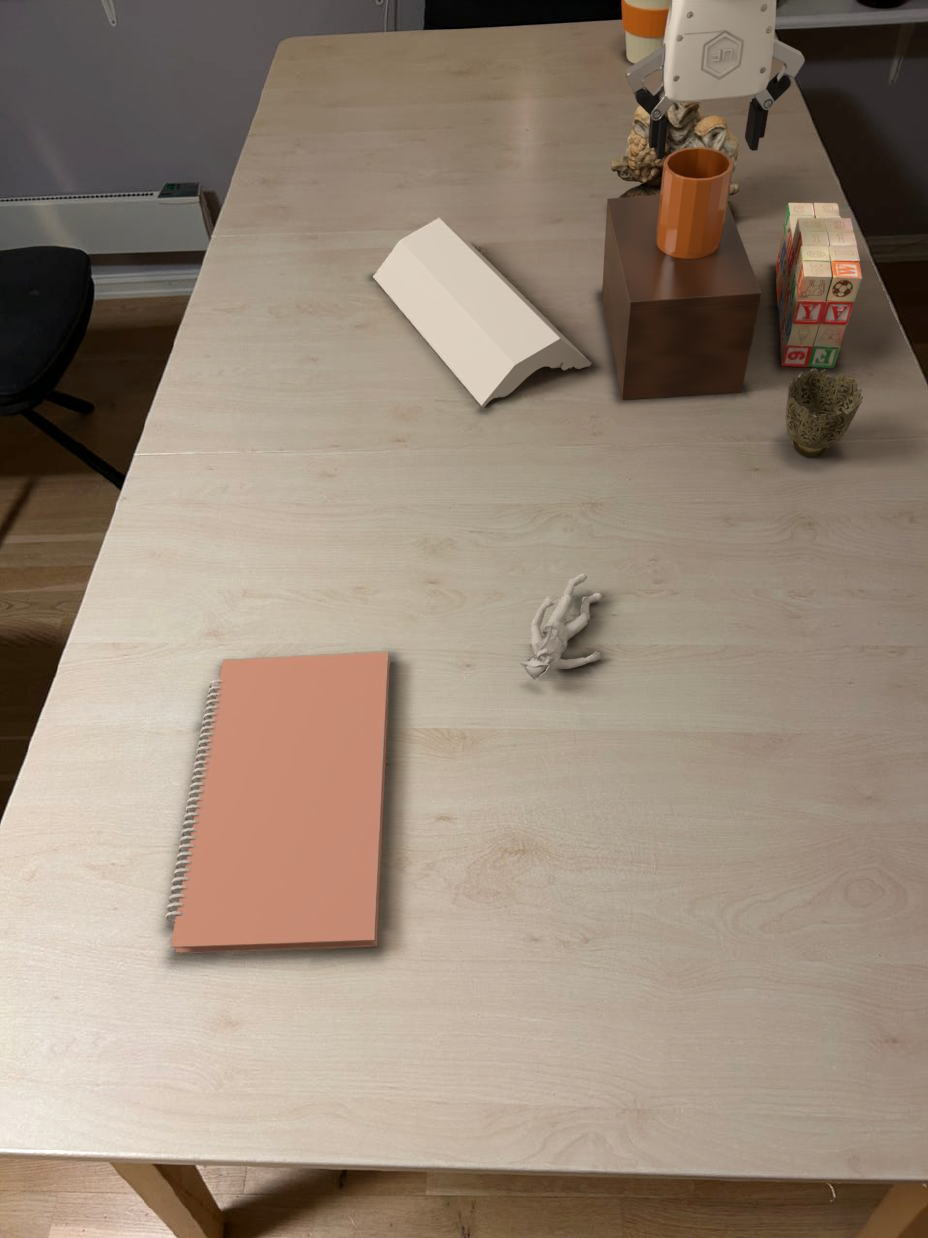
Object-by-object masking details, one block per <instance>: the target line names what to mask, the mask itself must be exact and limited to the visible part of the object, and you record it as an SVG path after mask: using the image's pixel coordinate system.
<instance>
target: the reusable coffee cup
mask: <svg viewBox="0 0 928 1238" xmlns="http://www.w3.org/2000/svg"><path fill="white" fill-rule="evenodd" d="M670 2H671V0H621V19H622V28H623V30H624V31H625V50H626V59H627V60H628V61H629V62H630V63H632V64H633V65H634V64H636V63H637V62H639V61H640V60H642V59H644V58H645V57H647V56H648V55H650V54H651V53H653V52H655V51H656V50H658V49H659V48H661V47H662V46H663V43H664V36H665V30H666V24H667V18H668V12H669V7H670Z"/></svg>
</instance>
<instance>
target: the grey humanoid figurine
mask: <svg viewBox="0 0 928 1238" xmlns="http://www.w3.org/2000/svg"><path fill="white" fill-rule="evenodd" d="M587 578H588V576H587V574H586V573H583V572H582V573H579V574H578V575H577V576H576V577H574V578H570V579H569V580H568V582H567V586H566V588H565V589H564V591H563V594H562V596H561V598H560V599H559V600H558V604H557V605H556V607H555V608H554V610H553V611H552V614H551V615H550V617H549V618H548V619H549V620H548V621H547V622H546V623H545V625H544V628H543V630H541V626H542V623H543V620H544V617H545V613H546V611H547V609H548V608H550V607H552V606H554V605H555V602H554V601H555V600H556V599H557V596H556V595H555V594H549V595H548V596H547V597H545V599H544V601H543V602H542V603H541V605H540V606H538V609H537V611H536V613H535V614H534V617H533V619H532V621H531V624H530V647H531V649H532V651H533V652H534V657H532V658H531V659H530V660H527V661H519V664H520V665H521V667H523V668H524V670H525V672H526V673H527V674H528V675H529V676H530V677H531V678H532V679H533V681H539V680H540V678H541V676H543V675H544V674H546V672H547V671H548V669H550V670H569V669H573V668H579V667H581V666H585V665H586V664H589V663H593V662H596V661H598V660H599V659H600V658H601V657H602V656H601V653H600V652H598V651H597V650H596V651H594V652H593V653H592V654H591V655H588V656H587V657H577V658H567V659H564V658H561V657H562V654H563V653H564V652H565V651H566V650H567V647H568V641H569V640H570V639H572V638H573V637H574V636H575V635H577V634H578V633H580V631H581V630H583V629H584V628H585V627H586V626H587V625H588V622H589V621H590V619H591V615H590V605H591V604H593V603H596V602H599V601H600V600H601V599H602V598H603V596H602V594H601V592H595V593H593V594H591V595H590V596H587V595H586V596H583V597H582V598H581V605H580V609H579V613H578V616H575V617H574V618H573V619H572V620H570V621H567V617H568V615H569V612H570V610H571V608H572V604H573V598H574V590H575V587H576V586H578V585H580V584H582V583H584V582H585V581H586V580H587ZM566 621H567V622H566Z"/></svg>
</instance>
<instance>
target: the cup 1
mask: <svg viewBox="0 0 928 1238" xmlns="http://www.w3.org/2000/svg"><path fill="white" fill-rule="evenodd" d="M733 165H734V164H733V162H732V159H731V157H729V156H728V155H727V154H725V153H724V152H721V151H718V150H715V149H712V148H703V147H694V148H685V149H681V150H678V151H675V152H673V153H671V154H670V155H668V156H667V157H666V159H665V161H664V164H663V174H662V183H661V193H660V203H659V213H658V223H657V232H656V237H657V238H656V243H657V246H658V248H659V249H660V250H661V251H662V252H664V253H666V254H668V255H670V256H673V257H676V258H682V259H696V258H702V257H706V256H708V255H711V254H712V253H714V252H715V251H716V250H717V249H718V248H719V246H720V243H721V239H722V233H723V227H724V221H725V215H726V209H727V202H728V201H729V197H730V196H729V190H730V184H731V181H732V176H733V173H732V171H733Z"/></svg>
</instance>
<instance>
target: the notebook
mask: <svg viewBox="0 0 928 1238" xmlns="http://www.w3.org/2000/svg"><path fill="white" fill-rule="evenodd" d="M390 673H391V659H390V658H389V651H388V650H386V651H365V652H345V653H344V652H343V653H327V654H326V653H325V654H324V653H323V654H302V655H285V656H265V657H264V656H263V657H244V658H226V659H225V658H224V659H222V663H221V669H220V673H219V679H213V680H211V681H210V682H209V687H208V691H207V694H208V695H207V697H206V701H205V708H204V711H203V712H204V714H203V717H202V720H203V721H202V722H201V728H200V735H199V738H198V739H199V740H198V743H197V748H196V756H195V762H194V764H193V769H192V777H191V784H190V785H189V790H190V791H188V799H187V801H186V805H187V806H186V807H185V814H184V816H183V820H184V822H182V828H183V829H182V830H181V833H180V835H181V837H180V838H179V844H180V845H179V846H178V849H177V851H178V852H179V853H177V855H176V861H175V864H174V867H175V868H176V869H175V870H174V871H173V876H174V878H172V879H171V884H172V885H173V886H171V887H170V890H169V893H170V894H171V895H170V896H169V898H168V901H169V904H167V906H166V910H167V911H168V912H167V913H166V914H165V917H164V918H165V919H166V920H167V921H168V922H171V923H174V926H173V932H172V937H171V944H170V949H171V948H172V949H174V948H175V953H176V954H195V953H196V954H197V953H198V954H199V953H225V952H254V951H257V952H258V951H282V950H308V949H309V950H310V949H340V948H341V949H342V948H343V949H344V948H366V947H367V948H368V947H371V948H372V947H378V935H379V934H378V933H379V931H378V930H379V909H380V890H381V889H380V887H381V868H382V866H381V865H382V864H381V863H382V848H383V847H382V845H383V822H384V804H385V803H384V801H385V780H386V761H387V760H386V756H387V740H388V739H387V737H388V715H389V714H388V713H389V695H390V692H389V691H390ZM214 683H218V685H214V686H212V685H213V684H214ZM211 691H212V692H211ZM210 698H212V699H210ZM208 704H210V705H208ZM207 711H210V712H207ZM206 717H207V719H206ZM205 724H207V725H205ZM204 730H205V731H207V732H203V731H204ZM202 737H203V738H204V739H202ZM205 738H206V739H205ZM201 744H203V746H201ZM204 745H205V746H204ZM200 751H202V752H203V753H202V752H201V753H200ZM204 752H205V753H204ZM198 758H201V759H202V760H201V759H200V760H199V759H198ZM197 765H200V766H201V767H197ZM196 772H198V773H201V774H196ZM195 779H197V780H199V781H196V782H195V781H194V780H195ZM194 786H195V787H197V788H199V789H194V788H193V787H194ZM192 794H195V795H197V796H192ZM191 801H192V802H196V804H191V803H190V802H191ZM189 809H192V810H195V811H194V812H193V811H192V812H191V811H189ZM187 817H193V819H189V818H187ZM187 824H190V825H192V827H187V826H186V825H187ZM186 832H188V833H189V832H190V835H186V834H185V833H186ZM185 840H188V841H189V843H185V842H183V841H185ZM182 848H183V849H184V848H188V850H187V851H184V850H182ZM180 856H186V859H182V858H181V857H180ZM180 864H185V866H184V867H180V866H179V865H180ZM181 872H182V873H183V876H181V875H178V874H177V873H181ZM177 881H182V882H181V884H179V883H176V882H177ZM177 889H180V892H175V891H174V890H177ZM174 898H178V901H175V900H173V899H174ZM170 907H177V910H176V909H173V908H170ZM171 915H172V916H173V915H175V918H172V917H169V916H171Z"/></svg>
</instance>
